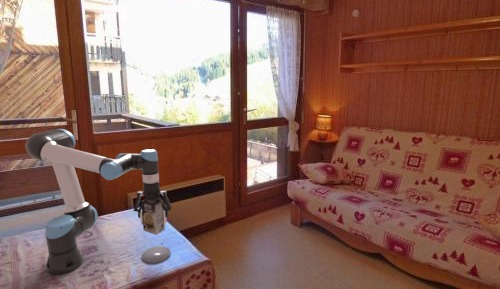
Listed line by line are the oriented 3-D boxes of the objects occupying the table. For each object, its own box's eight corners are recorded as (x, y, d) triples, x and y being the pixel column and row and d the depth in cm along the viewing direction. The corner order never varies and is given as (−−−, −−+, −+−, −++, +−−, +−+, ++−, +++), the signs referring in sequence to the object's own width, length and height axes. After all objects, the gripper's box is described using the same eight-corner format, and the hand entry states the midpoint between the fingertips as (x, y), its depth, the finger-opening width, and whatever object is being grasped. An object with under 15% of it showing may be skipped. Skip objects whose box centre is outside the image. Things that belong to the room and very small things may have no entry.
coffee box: (142, 231, 148) (140, 200, 144) (152, 225, 153) (150, 196, 150) (156, 235, 143) (154, 204, 140) (165, 229, 149) (163, 199, 146)
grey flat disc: (138, 264, 144) (138, 262, 144) (145, 248, 157) (145, 246, 157) (167, 262, 145) (167, 261, 145) (172, 247, 159) (172, 245, 158)
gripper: (124, 184, 138) (127, 227, 143) (173, 183, 140) (176, 226, 145) (129, 179, 146) (132, 220, 150) (176, 178, 148) (178, 219, 152)
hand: (153, 223), depth 148 cm, fingers closed on coffee box, 10 cm apart
